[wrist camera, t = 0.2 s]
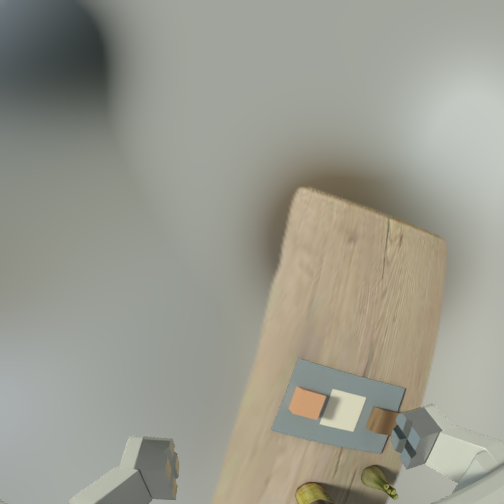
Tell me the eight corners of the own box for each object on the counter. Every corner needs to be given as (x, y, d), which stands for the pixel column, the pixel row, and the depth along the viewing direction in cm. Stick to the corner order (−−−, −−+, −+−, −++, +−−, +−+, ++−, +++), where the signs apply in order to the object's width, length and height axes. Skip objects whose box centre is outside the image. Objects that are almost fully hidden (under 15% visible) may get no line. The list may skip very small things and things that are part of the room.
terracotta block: (319, 392, 59) (326, 396, 54) (311, 414, 58) (317, 420, 53) (296, 385, 59) (302, 389, 55) (288, 408, 58) (292, 413, 53)
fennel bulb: (379, 479, 54) (402, 498, 43) (359, 486, 54) (380, 507, 42) (377, 460, 56) (401, 477, 44) (357, 467, 56) (379, 486, 44)
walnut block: (391, 410, 58) (402, 414, 54) (384, 430, 57) (394, 436, 52) (373, 406, 59) (383, 410, 54) (365, 427, 57) (374, 432, 53)
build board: (403, 387, 61) (405, 388, 60) (378, 452, 57) (381, 453, 55) (298, 358, 62) (299, 358, 61) (271, 429, 58) (271, 430, 56)
